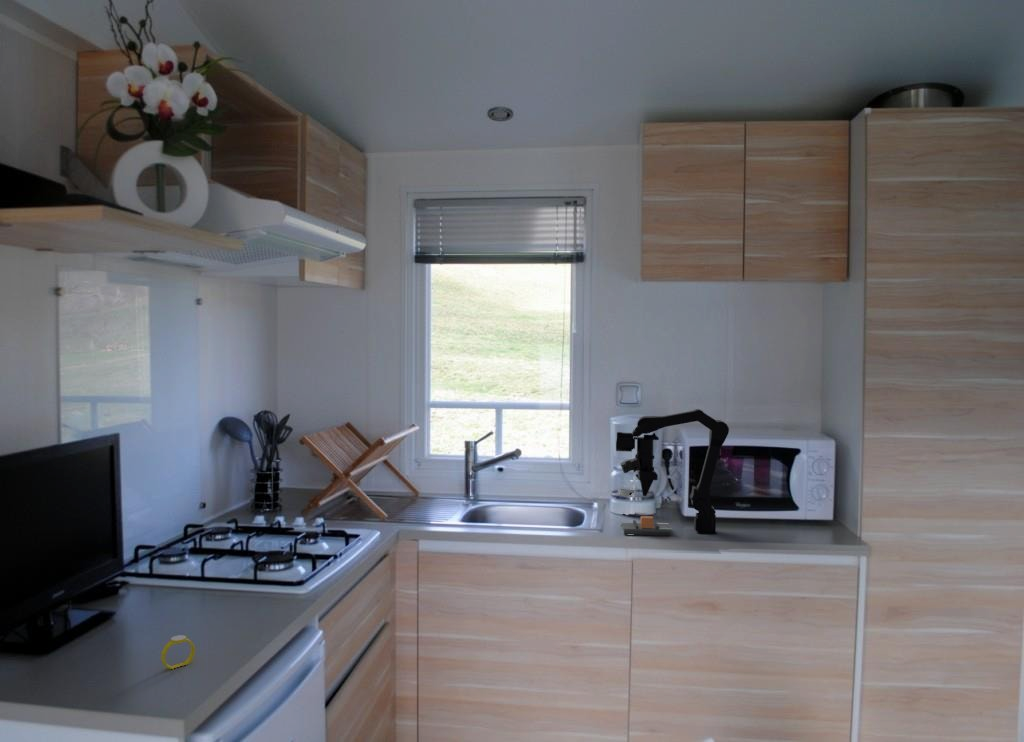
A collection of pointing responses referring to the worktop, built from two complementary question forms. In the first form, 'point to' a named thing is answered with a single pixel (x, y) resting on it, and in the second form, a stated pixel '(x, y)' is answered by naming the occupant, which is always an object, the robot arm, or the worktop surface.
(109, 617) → the worktop surface
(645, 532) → the dark grey rod
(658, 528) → the panel
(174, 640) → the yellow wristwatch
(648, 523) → the orange block
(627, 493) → the cup
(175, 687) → the worktop surface
